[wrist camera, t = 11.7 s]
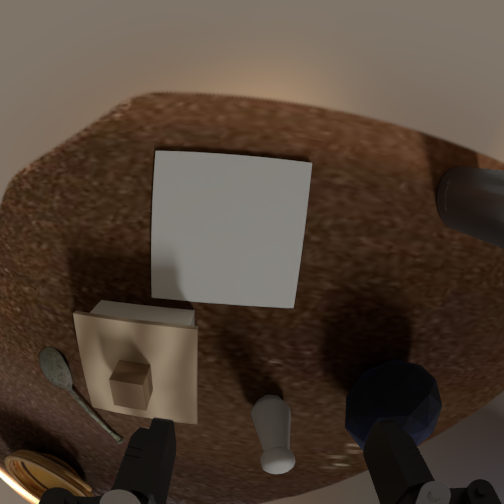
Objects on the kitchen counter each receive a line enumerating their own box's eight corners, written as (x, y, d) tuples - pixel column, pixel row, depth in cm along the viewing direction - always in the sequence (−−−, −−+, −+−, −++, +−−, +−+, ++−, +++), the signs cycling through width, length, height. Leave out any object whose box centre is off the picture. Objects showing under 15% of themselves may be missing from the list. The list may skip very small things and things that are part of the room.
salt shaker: (242, 403, 44) (245, 468, 32) (271, 383, 43) (282, 449, 31) (267, 421, 46) (275, 483, 33) (295, 403, 45) (310, 466, 32)
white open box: (194, 310, 40) (188, 333, 34) (194, 387, 43) (189, 414, 37) (101, 299, 39) (83, 319, 33) (111, 375, 42) (99, 400, 36)
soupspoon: (58, 338, 41) (37, 348, 42) (47, 348, 38) (27, 357, 39) (134, 435, 46) (110, 439, 47) (129, 448, 43) (104, 451, 44)
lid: (198, 326, 34) (193, 349, 29) (197, 420, 38) (194, 445, 33) (76, 310, 33) (57, 329, 28) (94, 403, 37) (83, 425, 32)
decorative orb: (428, 420, 42) (468, 435, 28) (349, 454, 42) (366, 484, 29) (408, 348, 47) (444, 340, 33) (327, 380, 48) (337, 386, 34)
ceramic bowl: (65, 497, 54) (57, 516, 47) (0, 441, 48) (-12, 460, 41) (131, 490, 51) (125, 516, 44) (51, 423, 45) (36, 450, 38)
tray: (310, 162, 36) (312, 162, 35) (292, 306, 40) (293, 308, 40) (156, 150, 34) (155, 150, 34) (152, 295, 39) (151, 297, 38)
